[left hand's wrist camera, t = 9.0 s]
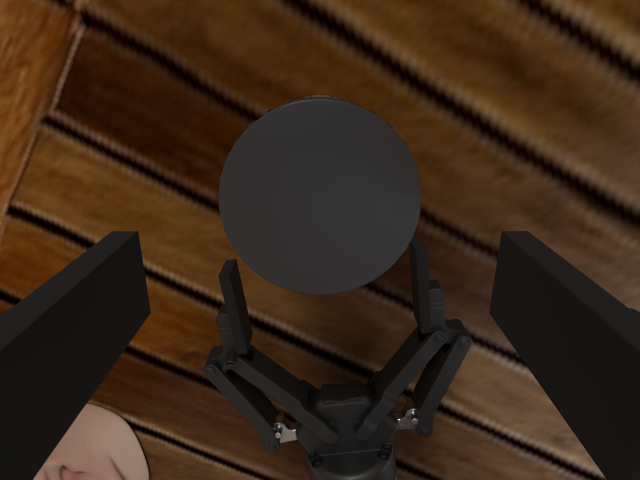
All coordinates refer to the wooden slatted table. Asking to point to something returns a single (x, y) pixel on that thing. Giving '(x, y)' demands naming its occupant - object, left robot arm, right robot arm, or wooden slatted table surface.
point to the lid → (319, 196)
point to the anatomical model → (96, 450)
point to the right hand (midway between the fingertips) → (321, 254)
